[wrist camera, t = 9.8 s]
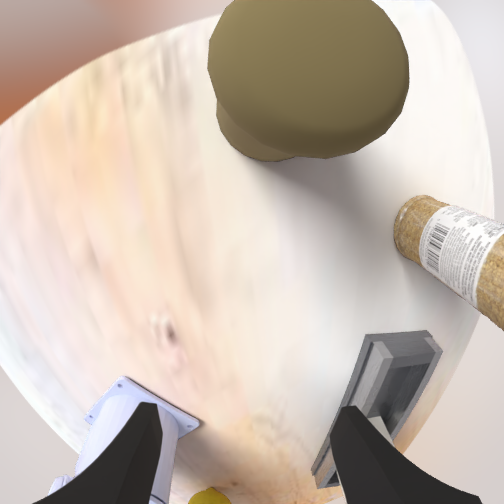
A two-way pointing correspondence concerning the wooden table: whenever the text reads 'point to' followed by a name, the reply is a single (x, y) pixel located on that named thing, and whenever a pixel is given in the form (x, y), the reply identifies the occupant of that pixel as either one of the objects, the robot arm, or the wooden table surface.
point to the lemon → (209, 497)
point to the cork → (306, 76)
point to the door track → (383, 387)
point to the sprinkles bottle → (456, 251)
